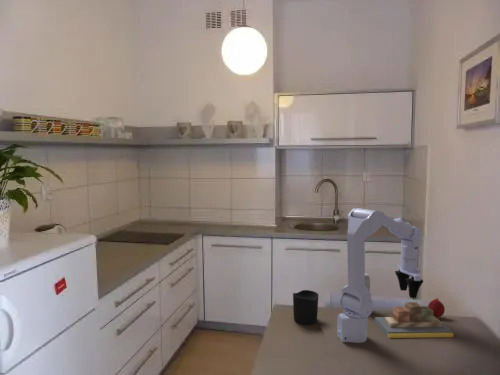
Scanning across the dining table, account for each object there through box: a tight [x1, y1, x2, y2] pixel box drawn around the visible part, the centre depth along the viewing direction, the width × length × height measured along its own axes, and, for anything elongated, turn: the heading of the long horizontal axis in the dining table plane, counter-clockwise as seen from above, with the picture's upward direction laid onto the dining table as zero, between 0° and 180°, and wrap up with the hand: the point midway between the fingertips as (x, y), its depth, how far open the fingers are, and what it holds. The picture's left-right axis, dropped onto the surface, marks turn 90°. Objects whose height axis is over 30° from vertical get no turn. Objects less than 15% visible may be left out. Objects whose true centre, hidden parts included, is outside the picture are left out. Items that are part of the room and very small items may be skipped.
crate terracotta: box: [392, 306, 410, 323], centre depth 131 cm, size 4×4×4 cm
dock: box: [374, 316, 454, 339], centre depth 132 cm, size 22×13×2 cm, turn 92°
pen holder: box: [292, 289, 319, 325], centre depth 140 cm, size 9×9×10 cm
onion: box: [427, 297, 446, 319], centre depth 142 cm, size 6×6×8 cm
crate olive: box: [421, 305, 433, 322], centre depth 131 cm, size 4×4×4 cm
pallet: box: [384, 301, 443, 327], centre depth 131 cm, size 18×5×7 cm, turn 92°
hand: (408, 293), depth 139 cm, fingers open, 7 cm apart
